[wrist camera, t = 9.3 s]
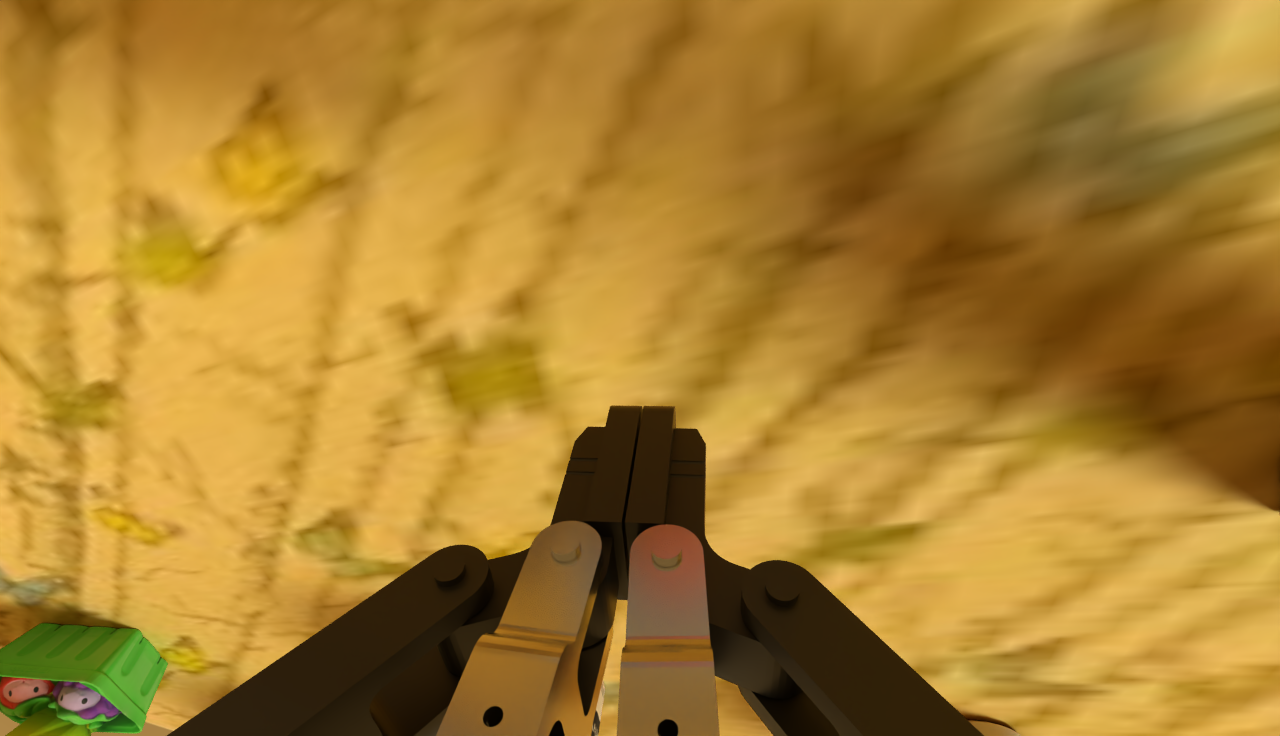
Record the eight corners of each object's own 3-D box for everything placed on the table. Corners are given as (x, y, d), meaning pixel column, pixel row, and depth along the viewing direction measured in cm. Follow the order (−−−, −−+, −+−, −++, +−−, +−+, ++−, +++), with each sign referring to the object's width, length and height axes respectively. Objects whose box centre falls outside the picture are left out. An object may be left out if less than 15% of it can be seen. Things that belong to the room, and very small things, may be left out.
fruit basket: (145, 619, 48) (7, 779, 38) (196, 680, 52) (85, 836, 43) (17, 610, 49) (-147, 764, 40) (79, 671, 54) (-54, 820, 44)
